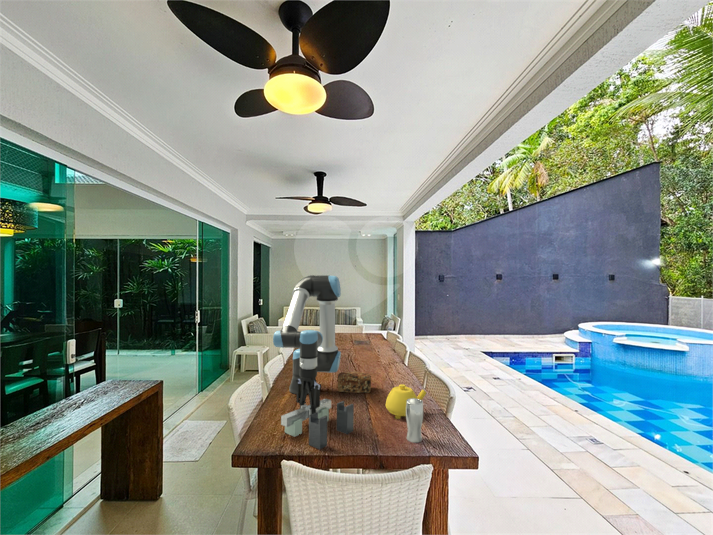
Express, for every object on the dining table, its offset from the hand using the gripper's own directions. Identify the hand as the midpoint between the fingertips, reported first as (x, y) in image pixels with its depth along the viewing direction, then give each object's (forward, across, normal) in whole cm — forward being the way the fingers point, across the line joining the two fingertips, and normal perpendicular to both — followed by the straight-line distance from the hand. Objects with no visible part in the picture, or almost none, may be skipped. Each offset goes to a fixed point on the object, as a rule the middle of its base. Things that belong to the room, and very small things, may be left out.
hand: (307, 421), depth 150 cm
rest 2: (+2, 0, +8) cm, 8 cm away
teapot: (+2, +26, +39) cm, 47 cm away
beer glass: (+2, +41, +19) cm, 45 cm away
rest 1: (+2, 0, -8) cm, 8 cm away
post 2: (+2, +15, +7) cm, 17 cm away
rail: (-3, 0, 0) cm, 3 cm away
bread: (+2, -14, +50) cm, 52 cm away
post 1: (+2, +15, -9) cm, 18 cm away
